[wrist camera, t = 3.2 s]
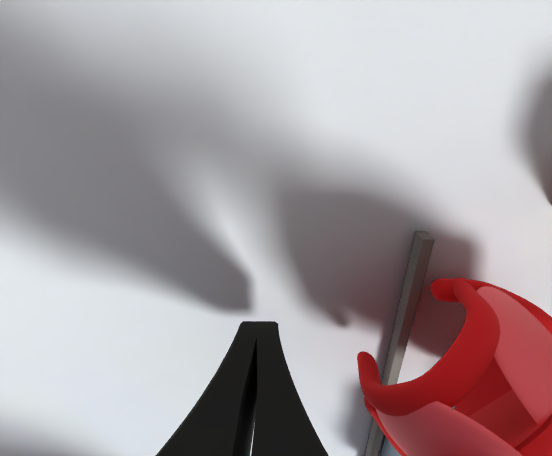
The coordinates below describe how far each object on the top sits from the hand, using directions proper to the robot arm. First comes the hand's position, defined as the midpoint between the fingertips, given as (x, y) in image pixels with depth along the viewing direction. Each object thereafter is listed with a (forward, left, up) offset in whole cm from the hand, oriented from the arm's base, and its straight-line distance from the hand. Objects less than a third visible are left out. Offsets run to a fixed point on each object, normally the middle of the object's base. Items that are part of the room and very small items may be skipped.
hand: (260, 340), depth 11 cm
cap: (+7, 0, -1) cm, 7 cm away
